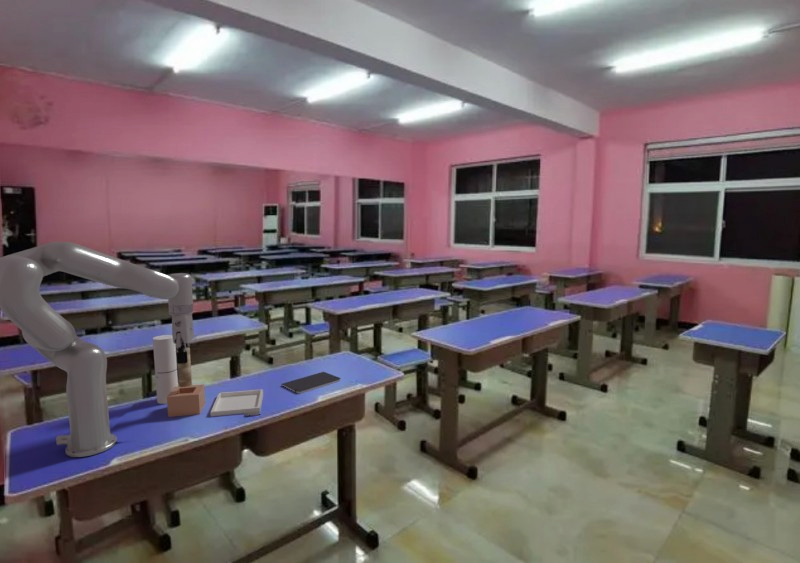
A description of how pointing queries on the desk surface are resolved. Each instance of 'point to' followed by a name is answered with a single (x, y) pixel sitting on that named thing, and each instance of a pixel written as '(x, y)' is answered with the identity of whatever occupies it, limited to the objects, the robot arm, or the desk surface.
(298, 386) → the notebook
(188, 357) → the dowel pin
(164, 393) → the cylindrical container
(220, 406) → the tray
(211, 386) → the desk surface
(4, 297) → the robot arm
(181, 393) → the deep holder
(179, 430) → the desk surface
